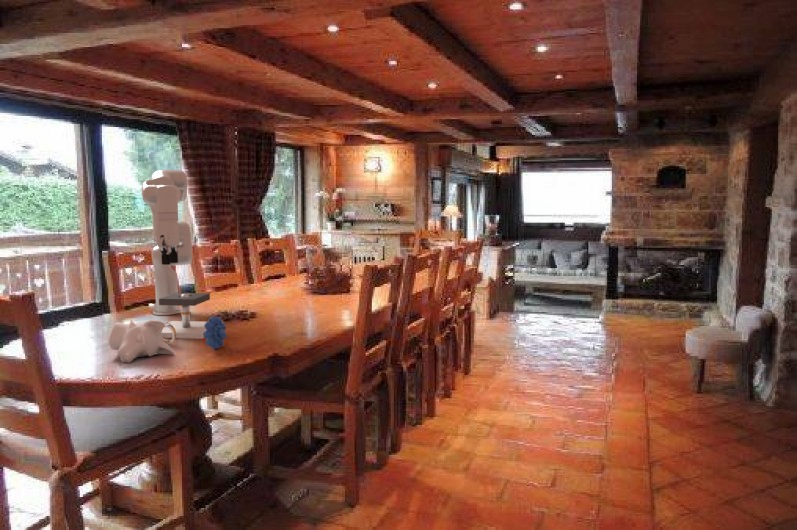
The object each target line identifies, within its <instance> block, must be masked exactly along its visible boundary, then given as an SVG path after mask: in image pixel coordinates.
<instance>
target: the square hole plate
mask: <svg viewBox="0 0 797 530" xmlns="http://www.w3.org/2000/svg"><path fill="white" fill-rule="evenodd" d="M182 294H189V297H181V295H182ZM210 295H211V293H210V292H198V293H197V292H178V293H174V294H171V295H168V296H166V297H163V298H160V299H159V305H177V306H178V307H179V306H180V307H181V306H191V307H194V306H195V307H196V306H197V305H200V304H202V303H205V302H206V301H209V300H211V296H210Z"/></svg>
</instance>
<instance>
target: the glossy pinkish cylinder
mask: <svg viewBox="0 0 797 530" xmlns="http://www.w3.org/2000/svg"><path fill="white" fill-rule="evenodd" d="M181 297H189V294H182V295H181ZM180 307H181V308H180V309H182V312H181V313H180V315H181V321H182V327H183V328H188V327H190V321H191V310H190V309H191V308H190V306H180Z"/></svg>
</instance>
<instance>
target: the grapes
mask: <svg viewBox="0 0 797 530" xmlns="http://www.w3.org/2000/svg"><path fill="white" fill-rule="evenodd" d="M205 322H206V323H205V325H204V327H205V328H206V331H204V333H203V335H204V337H205V339H206V340H205V343H206V346H208V347H211V348H212V350H217V349H219V348H220V347H223V346H224V344H225V339H226V338H227V336H228V335H227V332H226V329H227V325H226V324H225V323H224V322H223V320H222V318H221V317H219V316H210V317H209V319H208V321H205ZM222 322H223V323H222Z"/></svg>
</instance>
